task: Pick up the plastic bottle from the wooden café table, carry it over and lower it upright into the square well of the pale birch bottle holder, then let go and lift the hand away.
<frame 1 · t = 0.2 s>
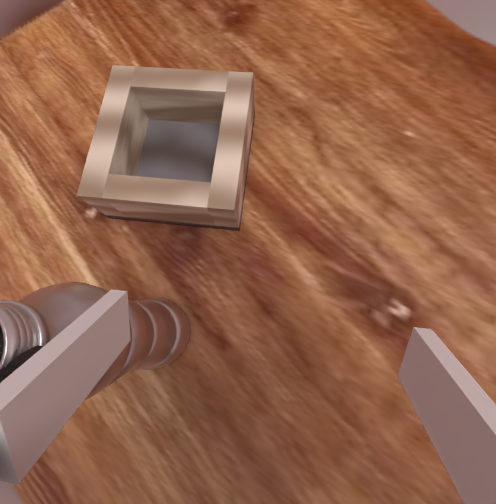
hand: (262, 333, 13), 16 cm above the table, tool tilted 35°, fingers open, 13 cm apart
bottle holder: (184, 164, 34), on the table
plastic bottle: (164, 331, 30), on the table
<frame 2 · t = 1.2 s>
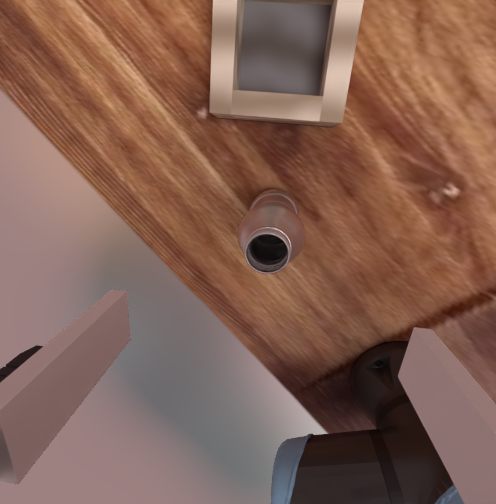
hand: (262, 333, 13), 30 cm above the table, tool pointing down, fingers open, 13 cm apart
bottle holder: (282, 56, 35), on the table
plastic bottle: (274, 209, 42), on the table
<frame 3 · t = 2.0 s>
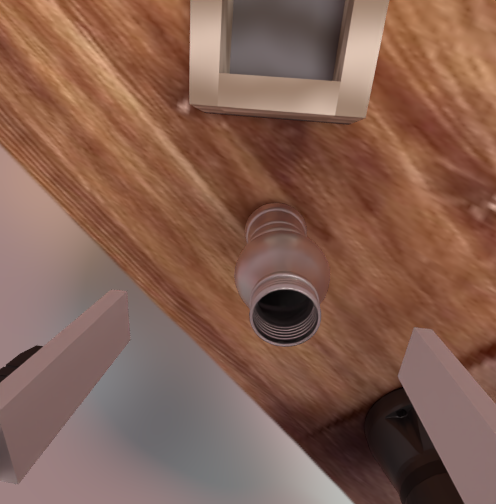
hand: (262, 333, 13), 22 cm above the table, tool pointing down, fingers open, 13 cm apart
bottle holder: (285, 32, 27), on the table
plastic bottle: (275, 226, 34), on the table
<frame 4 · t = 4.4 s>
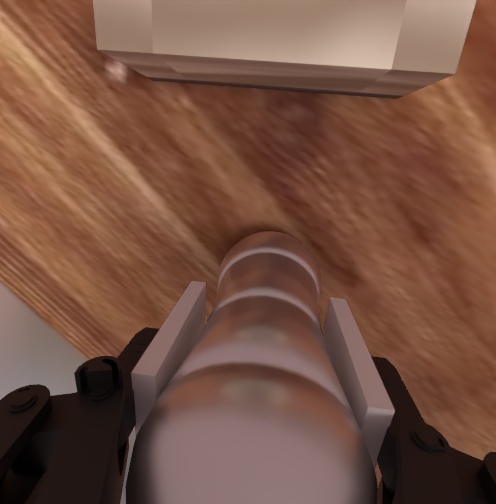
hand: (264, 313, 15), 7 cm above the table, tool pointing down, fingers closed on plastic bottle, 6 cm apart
plastic bottle: (271, 263, 22), on the table, touching gripper
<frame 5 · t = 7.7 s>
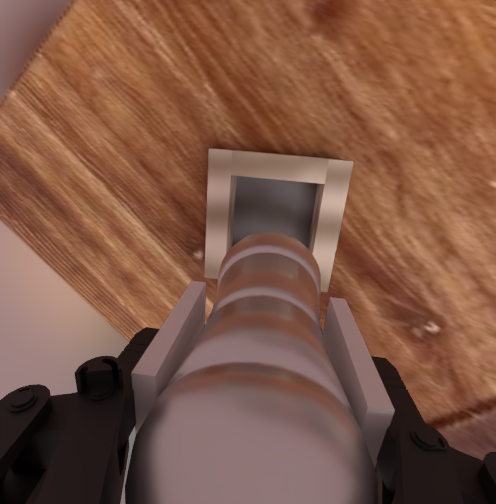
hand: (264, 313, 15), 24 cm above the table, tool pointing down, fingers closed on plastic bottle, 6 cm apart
bottle holder: (272, 213, 38), on the table
plastic bottle: (271, 263, 22), point 17 cm above the table, touching gripper
when the fingers open (9 cm above the table, at t = 11.1 s): plastic bottle drops 1 cm, resting on bottle holder.
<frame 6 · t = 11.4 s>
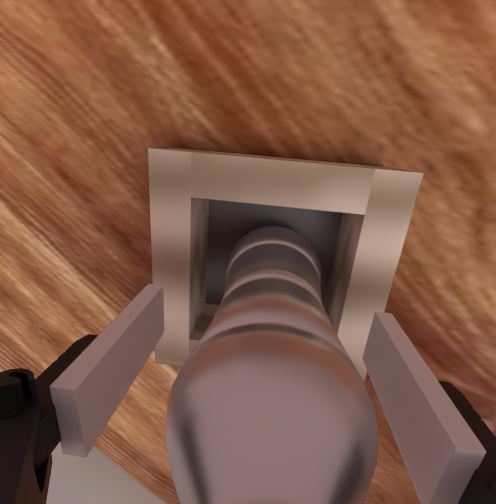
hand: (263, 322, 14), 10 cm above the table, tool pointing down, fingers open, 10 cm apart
bottle holder: (269, 252, 24), on the table
plastic bottle: (273, 257, 23), point 1 cm above the table, touching bottle holder
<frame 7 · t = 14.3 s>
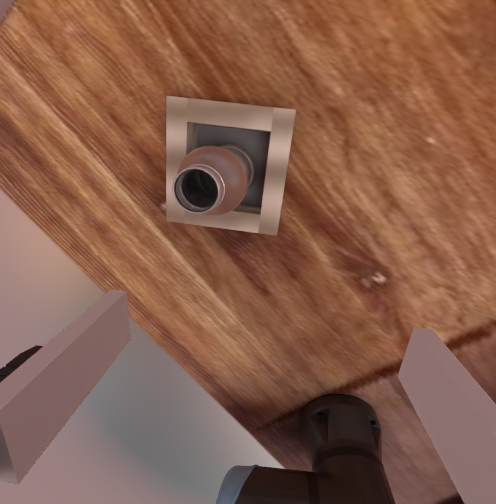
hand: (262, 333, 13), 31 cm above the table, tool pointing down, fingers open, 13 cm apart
bottle holder: (232, 166, 41), on the table
plastic bottle: (234, 168, 40), point 1 cm above the table, touching bottle holder
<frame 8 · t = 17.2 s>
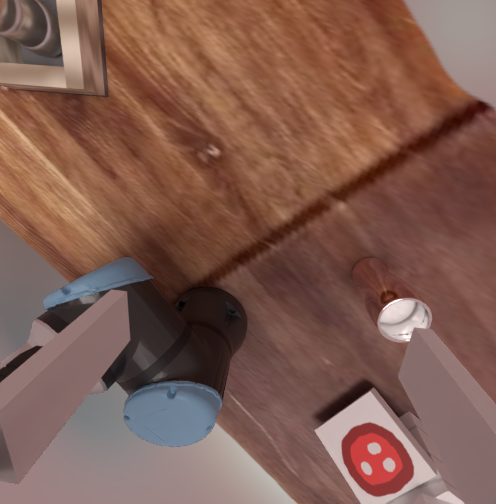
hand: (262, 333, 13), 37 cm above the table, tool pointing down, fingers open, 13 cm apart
beer glass: (368, 272, 50), on the table
pizza boxes: (386, 433, 63), on the table
bottle holder: (55, 36, 43), on the table
plastic bottle: (54, 35, 42), point 1 cm above the table, touching bottle holder
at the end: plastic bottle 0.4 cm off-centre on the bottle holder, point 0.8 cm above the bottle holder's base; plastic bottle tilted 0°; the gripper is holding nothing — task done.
